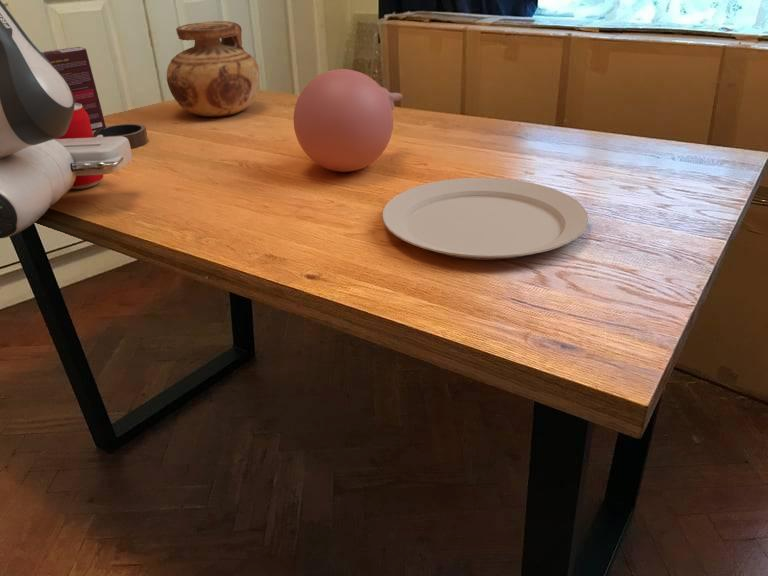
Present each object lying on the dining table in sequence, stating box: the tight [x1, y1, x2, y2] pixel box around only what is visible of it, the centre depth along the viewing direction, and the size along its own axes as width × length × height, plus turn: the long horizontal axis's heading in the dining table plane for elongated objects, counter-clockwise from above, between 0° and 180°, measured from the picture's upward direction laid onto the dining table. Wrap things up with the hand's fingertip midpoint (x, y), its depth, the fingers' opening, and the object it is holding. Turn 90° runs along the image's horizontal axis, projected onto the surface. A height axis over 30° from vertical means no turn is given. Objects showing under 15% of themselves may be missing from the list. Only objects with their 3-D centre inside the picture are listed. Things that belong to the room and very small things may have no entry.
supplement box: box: [40, 46, 107, 134], centre depth 126 cm, size 9×5×16 cm, turn 130°
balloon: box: [293, 68, 404, 173], centre depth 103 cm, size 15×20×15 cm
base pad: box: [93, 123, 149, 150], centre depth 123 cm, size 9×9×2 cm
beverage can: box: [56, 103, 104, 190], centre depth 101 cm, size 6×6×12 cm
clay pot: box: [166, 20, 261, 118], centre depth 138 cm, size 19×19×20 cm
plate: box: [382, 177, 590, 261], centre depth 84 cm, size 26×26×2 cm
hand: (74, 141), depth 101 cm, fingers closed on beverage can, 6 cm apart
